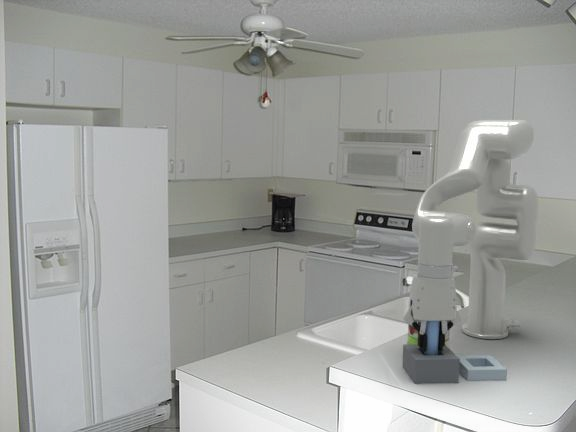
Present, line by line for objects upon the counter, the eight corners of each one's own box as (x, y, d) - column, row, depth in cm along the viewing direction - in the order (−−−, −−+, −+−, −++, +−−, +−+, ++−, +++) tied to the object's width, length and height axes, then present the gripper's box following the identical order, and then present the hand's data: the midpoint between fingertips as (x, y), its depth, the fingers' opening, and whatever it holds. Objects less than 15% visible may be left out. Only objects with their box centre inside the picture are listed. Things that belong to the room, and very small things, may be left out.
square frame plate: (489, 367, 145) (490, 355, 145) (506, 382, 136) (506, 369, 136) (453, 367, 144) (453, 355, 144) (467, 382, 135) (468, 370, 135)
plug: (434, 363, 140) (437, 313, 139) (439, 368, 137) (441, 317, 135) (421, 363, 140) (423, 313, 138) (425, 369, 137) (427, 318, 135)
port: (443, 367, 144) (444, 343, 143) (458, 384, 134) (459, 359, 134) (402, 368, 143) (403, 344, 142) (414, 385, 133) (415, 359, 133)
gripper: (463, 267, 140) (459, 343, 142) (394, 267, 139) (391, 344, 141) (476, 274, 133) (471, 354, 135) (403, 274, 131) (400, 355, 134)
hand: (430, 348), depth 138 cm, fingers closed on plug, 3 cm apart
